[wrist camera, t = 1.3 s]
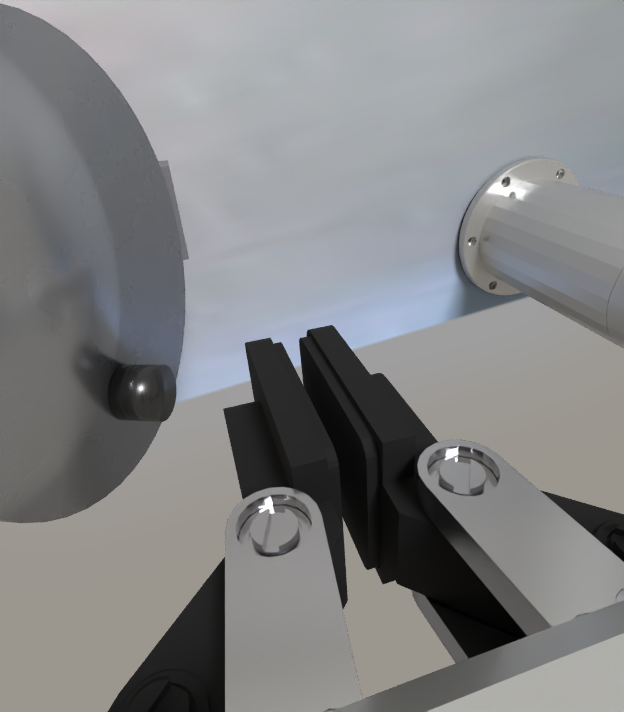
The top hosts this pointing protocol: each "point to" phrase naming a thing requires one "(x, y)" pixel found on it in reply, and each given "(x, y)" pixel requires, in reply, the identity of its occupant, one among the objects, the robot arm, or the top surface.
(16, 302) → the cooker lid
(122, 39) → the top surface
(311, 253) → the top surface
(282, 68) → the top surface
